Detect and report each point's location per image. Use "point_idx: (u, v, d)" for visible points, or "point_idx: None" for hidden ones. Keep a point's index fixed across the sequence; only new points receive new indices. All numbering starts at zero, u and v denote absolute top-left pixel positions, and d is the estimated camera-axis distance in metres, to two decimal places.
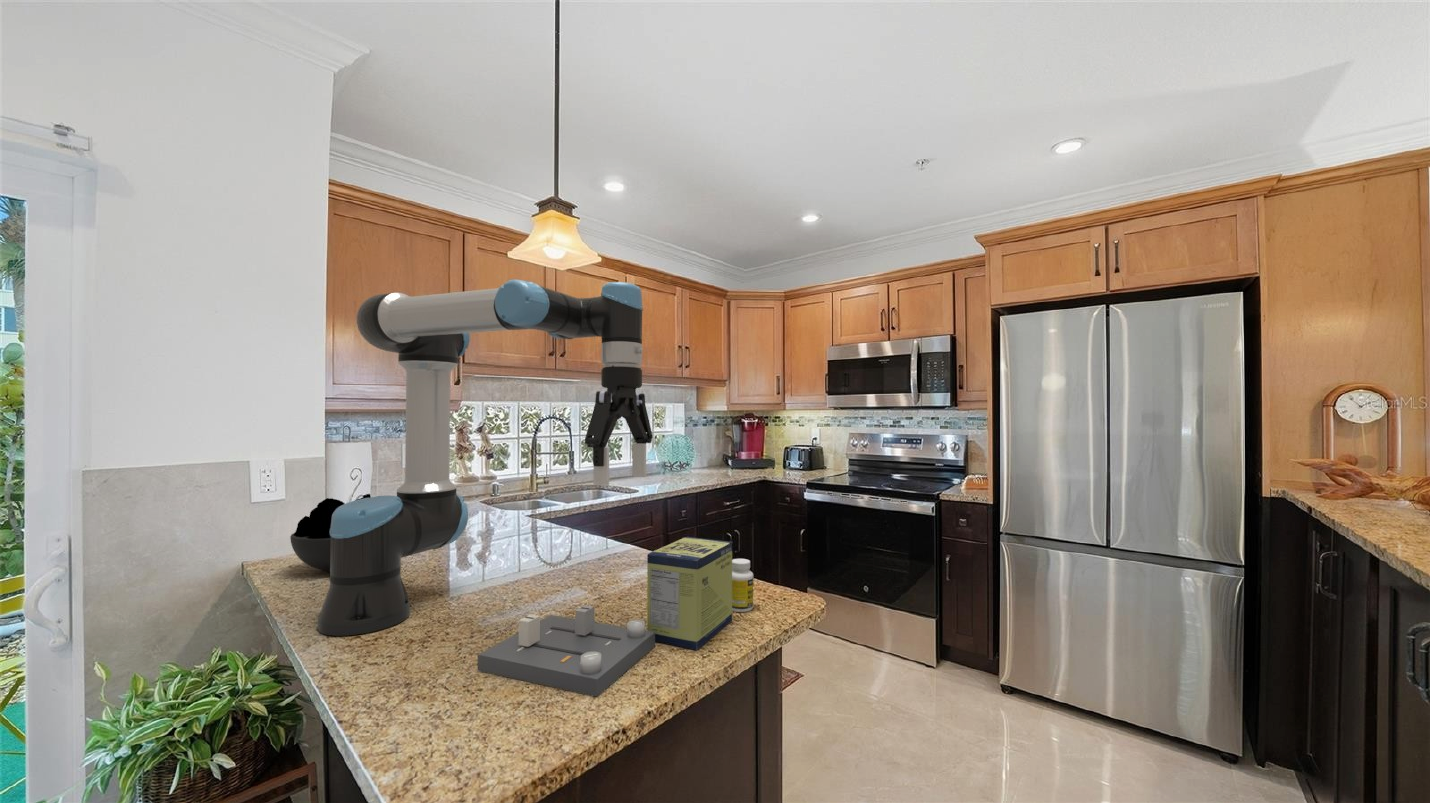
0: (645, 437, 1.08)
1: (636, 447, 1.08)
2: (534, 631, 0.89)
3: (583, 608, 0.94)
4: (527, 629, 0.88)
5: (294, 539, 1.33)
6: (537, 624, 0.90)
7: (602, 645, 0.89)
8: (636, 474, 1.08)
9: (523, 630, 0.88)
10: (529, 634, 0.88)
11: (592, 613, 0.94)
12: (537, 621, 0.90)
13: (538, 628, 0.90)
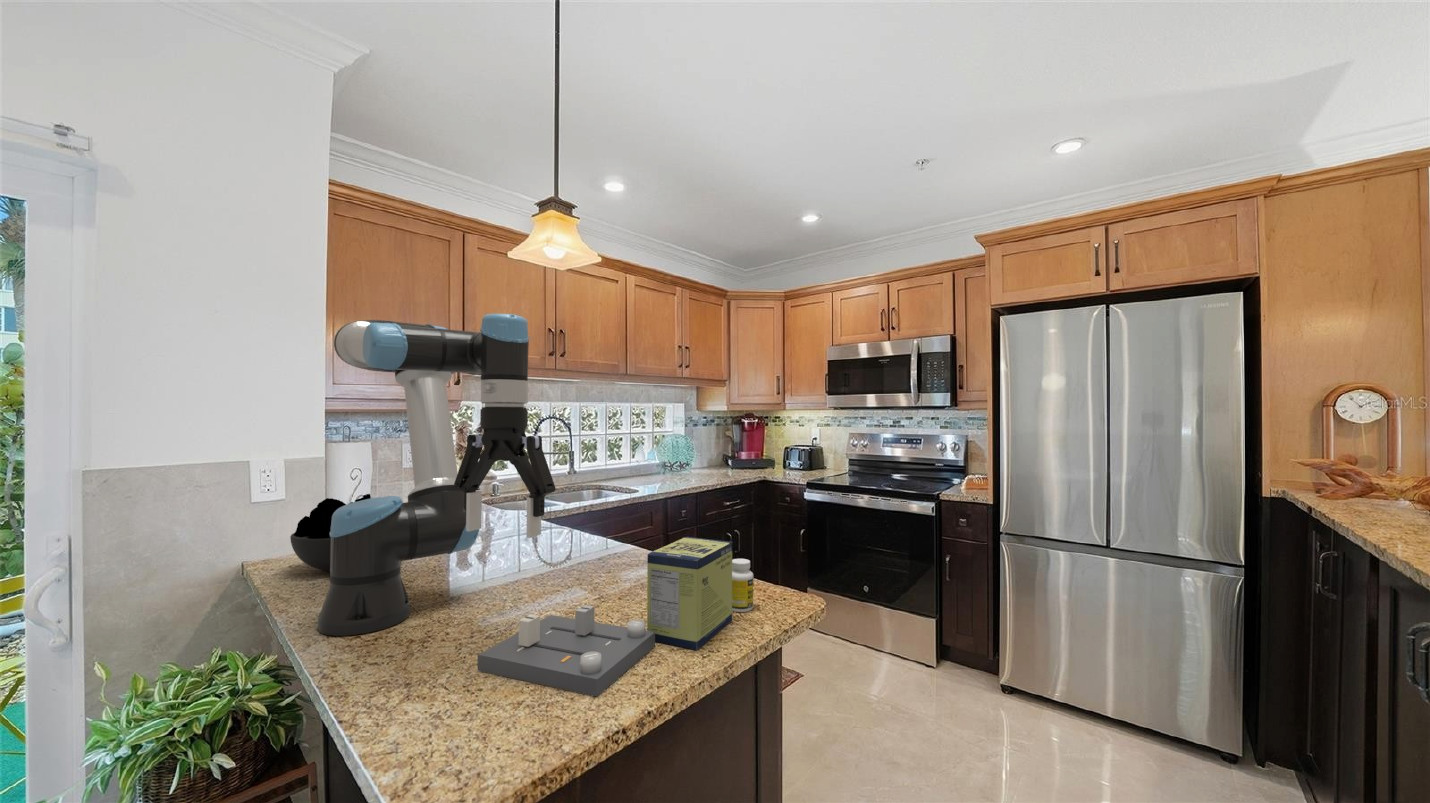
0: (530, 490, 0.89)
1: None
2: (534, 631, 0.89)
3: (583, 608, 0.94)
4: (527, 629, 0.88)
5: (294, 539, 1.33)
6: (537, 624, 0.90)
7: (602, 645, 0.89)
8: None
9: (523, 630, 0.88)
10: (529, 634, 0.88)
11: (592, 613, 0.94)
12: (537, 621, 0.90)
13: (538, 628, 0.90)
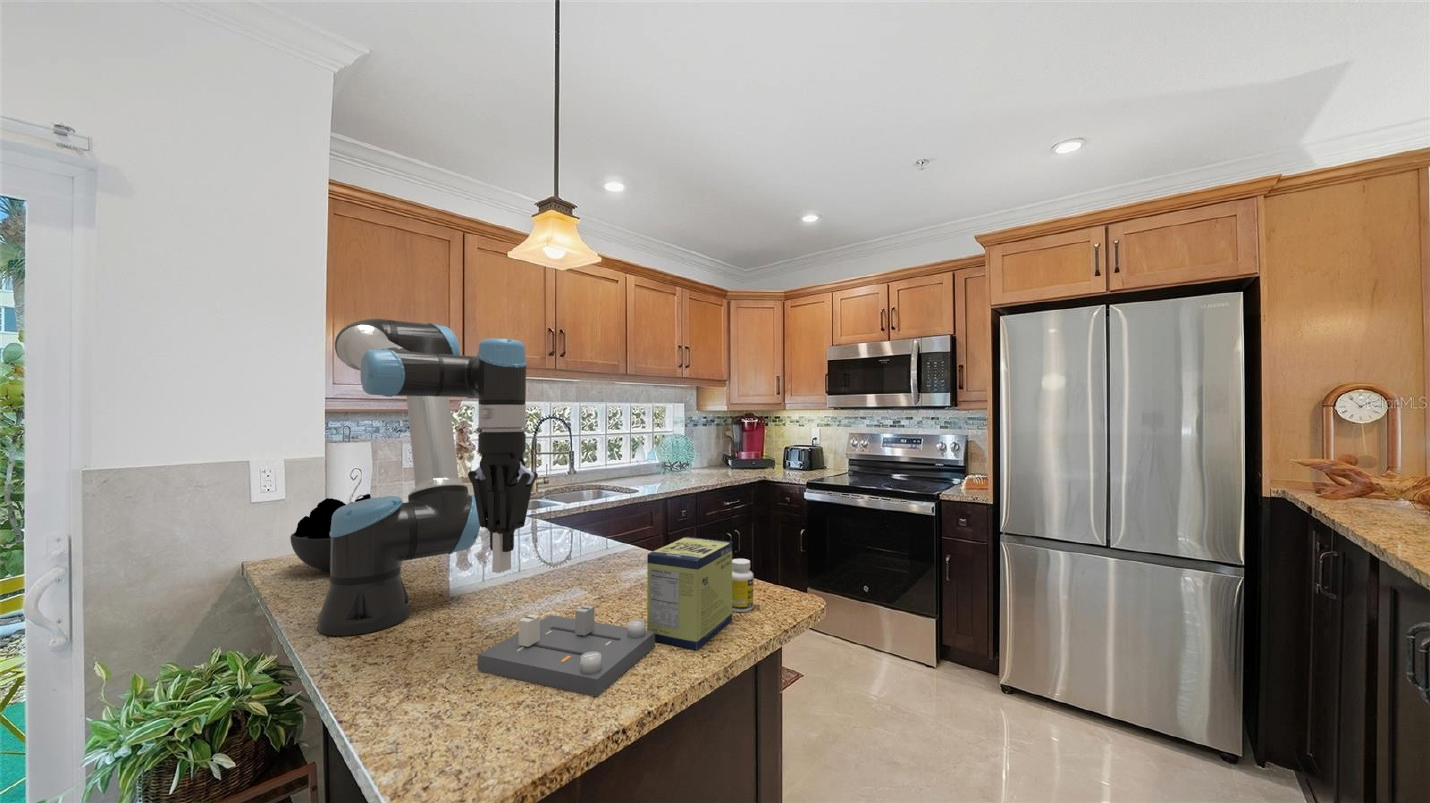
0: (502, 524, 0.90)
1: None
2: (534, 631, 0.89)
3: (583, 608, 0.94)
4: (527, 629, 0.88)
5: (294, 539, 1.33)
6: (537, 624, 0.90)
7: (602, 645, 0.89)
8: None
9: (523, 630, 0.88)
10: (529, 634, 0.88)
11: (592, 613, 0.94)
12: (537, 621, 0.90)
13: (538, 628, 0.90)
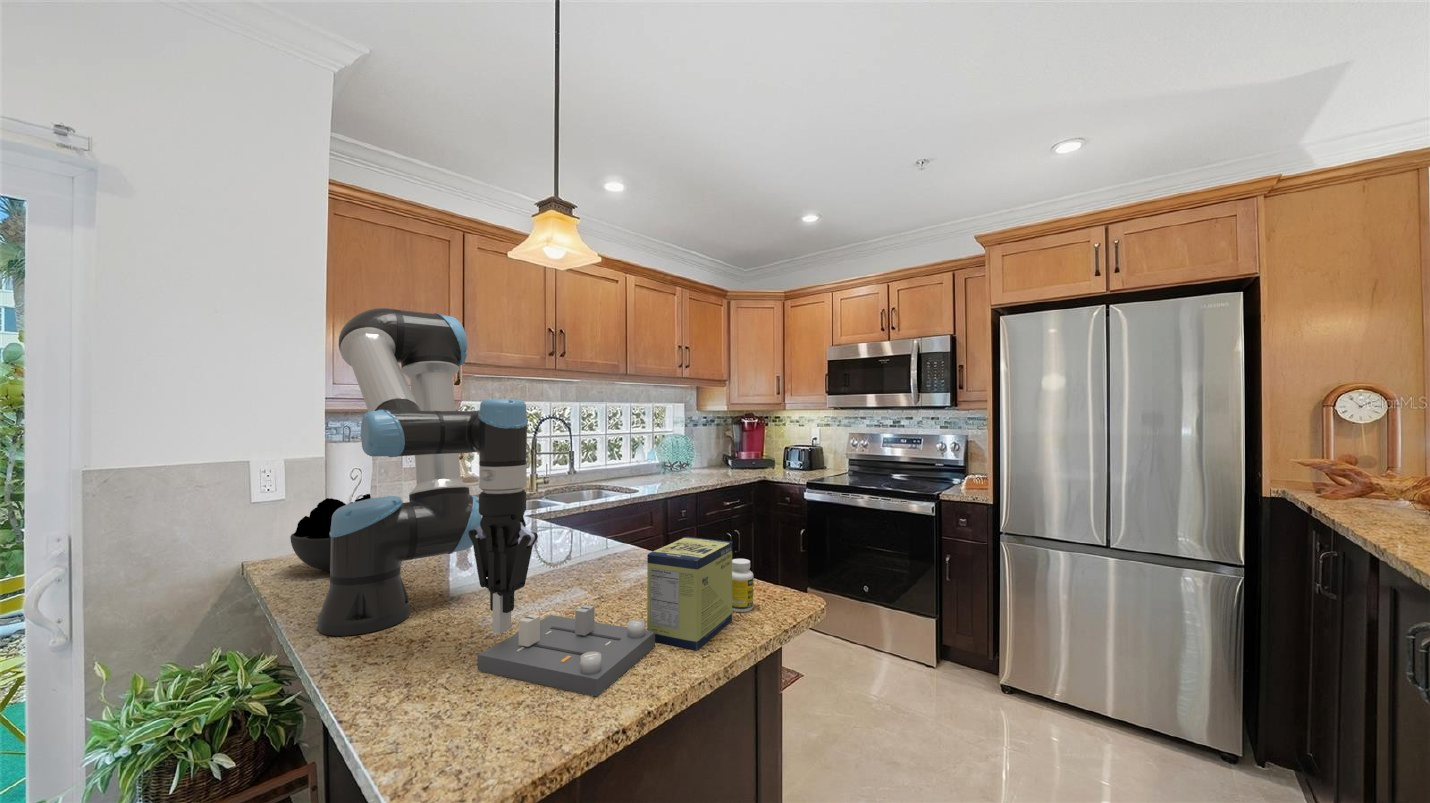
0: (502, 585, 0.90)
1: None
2: (534, 631, 0.89)
3: (583, 608, 0.94)
4: (527, 629, 0.88)
5: (294, 539, 1.33)
6: (537, 624, 0.90)
7: (602, 645, 0.89)
8: None
9: (523, 630, 0.88)
10: (529, 634, 0.88)
11: (592, 613, 0.94)
12: (537, 621, 0.90)
13: (538, 628, 0.90)
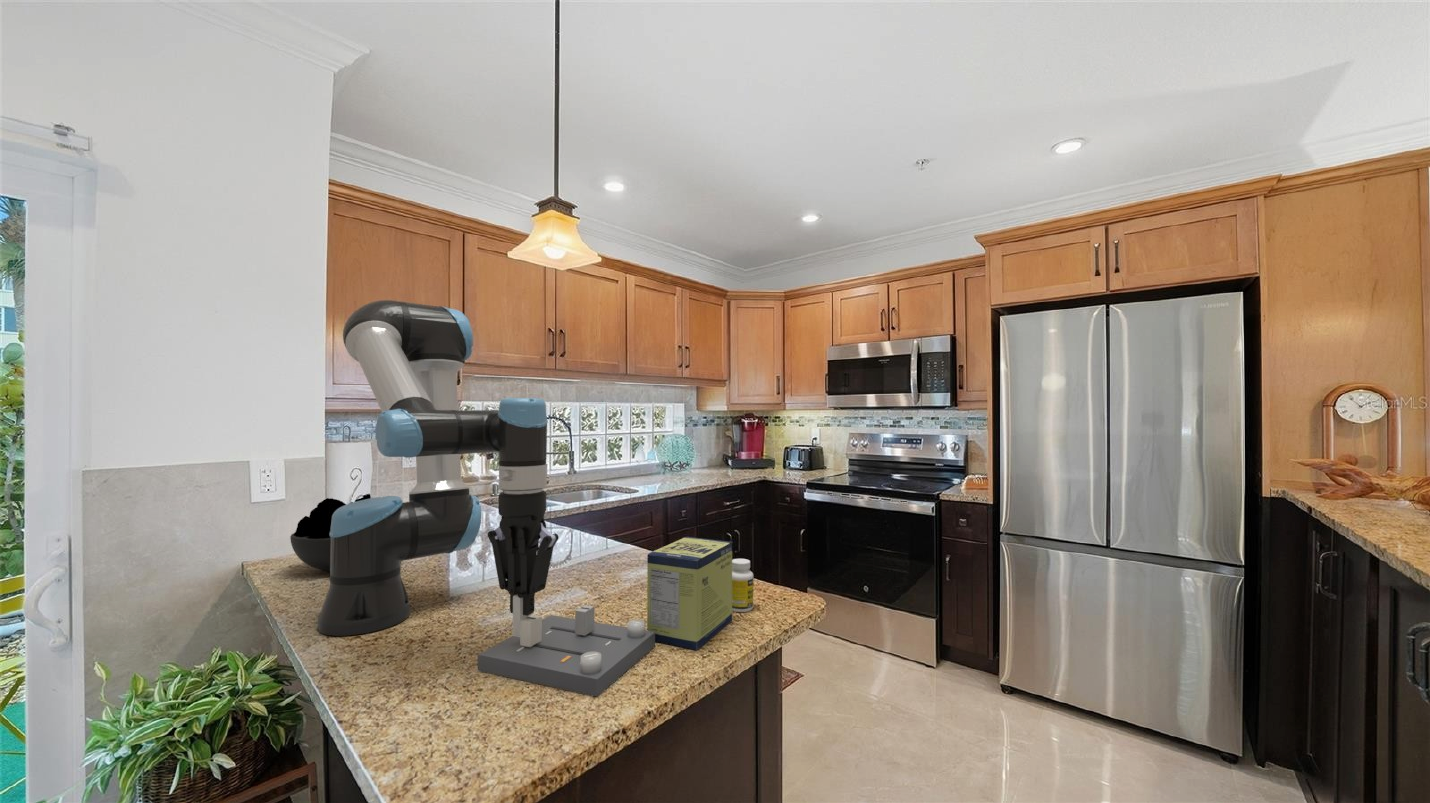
0: (522, 587, 0.89)
1: None
2: (536, 631, 0.89)
3: (583, 608, 0.94)
4: (529, 630, 0.88)
5: (294, 539, 1.33)
6: (539, 624, 0.90)
7: (602, 645, 0.89)
8: None
9: (525, 630, 0.88)
10: (531, 634, 0.88)
11: (592, 613, 0.94)
12: (539, 621, 0.90)
13: (540, 628, 0.90)
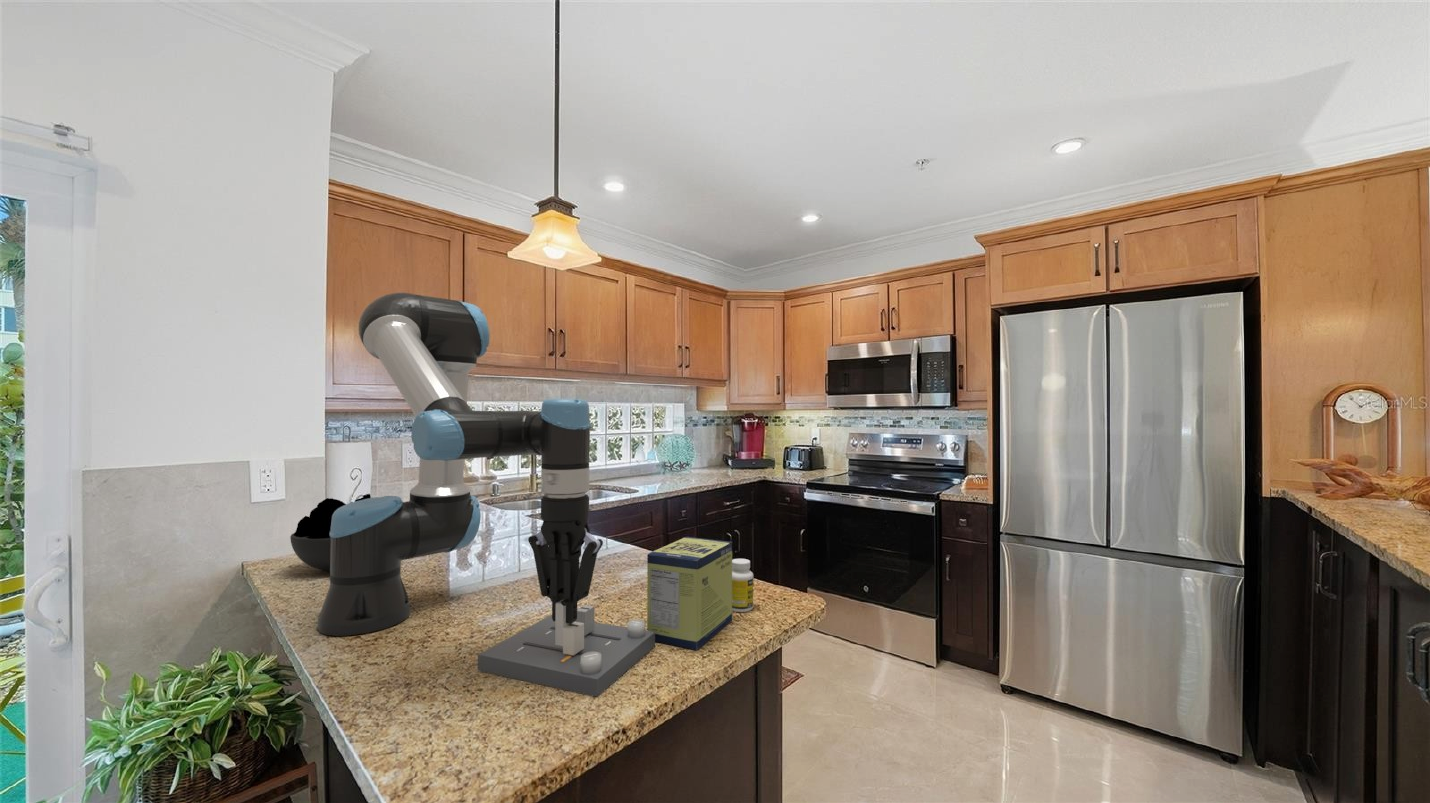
0: (566, 594, 0.86)
1: None
2: (579, 639, 0.86)
3: (583, 608, 0.94)
4: (572, 637, 0.85)
5: (294, 539, 1.33)
6: (581, 632, 0.87)
7: (602, 645, 0.89)
8: None
9: (568, 638, 0.85)
10: (574, 642, 0.85)
11: (592, 613, 0.94)
12: (581, 629, 0.87)
13: (582, 636, 0.87)
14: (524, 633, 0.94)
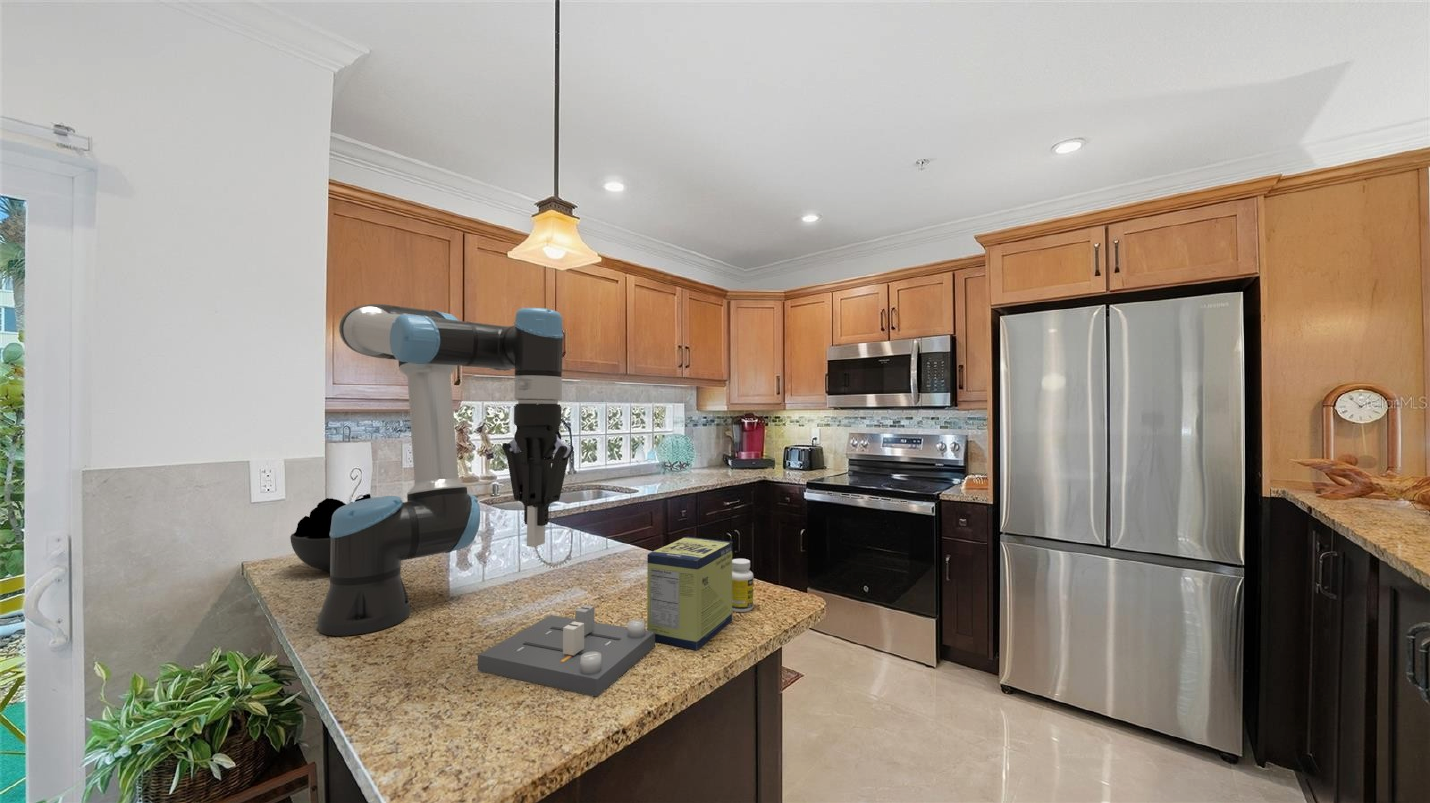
0: (537, 497, 0.89)
1: None
2: (579, 639, 0.86)
3: (583, 608, 0.94)
4: (572, 637, 0.85)
5: (294, 539, 1.33)
6: (581, 632, 0.87)
7: (602, 645, 0.89)
8: None
9: (568, 638, 0.85)
10: (574, 642, 0.85)
11: (592, 613, 0.94)
12: (581, 629, 0.87)
13: (582, 636, 0.87)
14: (524, 633, 0.94)
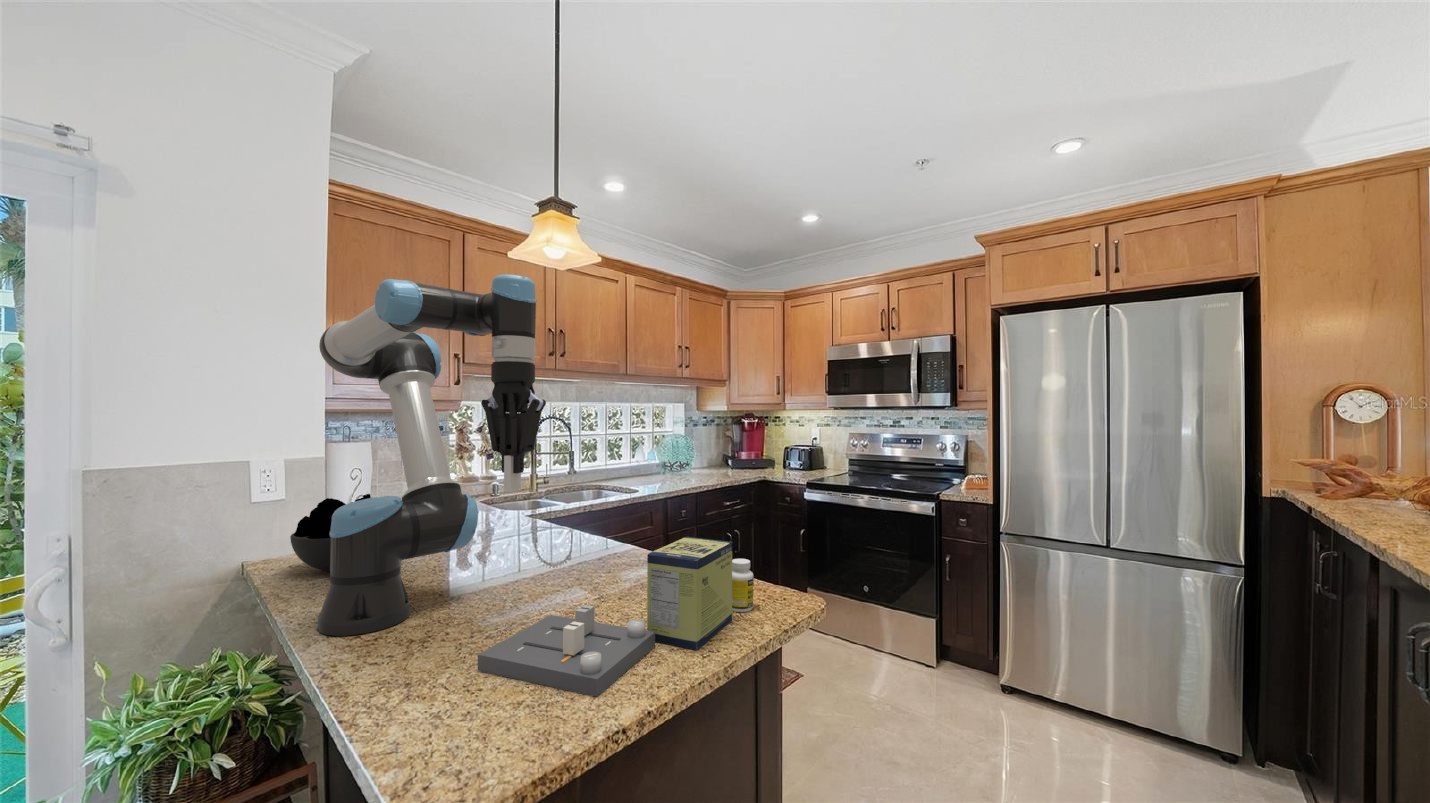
0: (513, 447, 0.98)
1: None
2: (579, 639, 0.86)
3: (583, 608, 0.94)
4: (572, 637, 0.85)
5: (294, 539, 1.33)
6: (581, 632, 0.87)
7: (602, 645, 0.89)
8: None
9: (568, 638, 0.85)
10: (574, 642, 0.85)
11: (592, 613, 0.94)
12: (581, 629, 0.87)
13: (582, 636, 0.87)
14: (524, 633, 0.94)
